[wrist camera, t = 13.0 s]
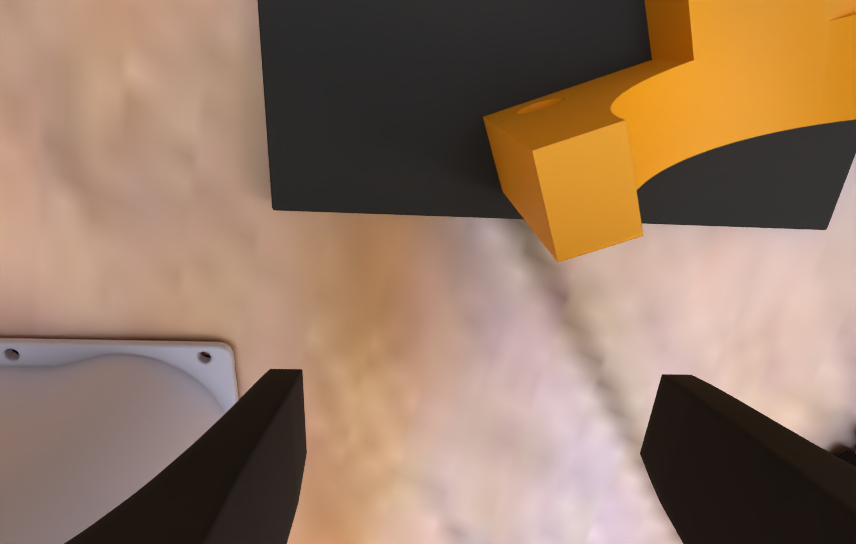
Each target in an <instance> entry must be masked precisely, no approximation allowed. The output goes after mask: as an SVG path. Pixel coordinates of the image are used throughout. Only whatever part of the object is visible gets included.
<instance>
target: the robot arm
mask: <svg viewBox="0 0 856 544" xmlns="http://www.w3.org/2000/svg"><path fill="white" fill-rule="evenodd" d="M12 349H14V350H16V351H17V352H18V353H19V354H16V353H15V352H14V351H13V350H12ZM201 352H207V353H208V354H210V356H211V357H210V358H207V357H204V356H203V355H202V354H201ZM306 454H307V450H306V431H305V412H304V393H303V374H302V369H270V370H269V371H268V372H266V373H265V374H264V375H263V376H262V377H261V378H260V379H259V380H258V381H257V382H256V383H255V384H254V385H253V386H252V387H251V388H250V389H249V390H248V391H247V392H246V393H245V394H244V395H243V396H242V397H241V398H240V399H239V397H238V388H237V379H236V370H235V362H234V353H233V350H232V348H231V347H230V346H229V345H227V344H226V343H223V342H203V341H146V340H89V339H31V338H0V544H287V541H288V537H289V534H290V530H291V527H292V523H293V520H294V516H295V512H296V509H297V505H298V501H299V495H300V490H301V484H302V478H303V472H304V466H305V460H306ZM640 455H641V457H642V460H643V462H644V465H645V467H646V470H647V472H648V475H649V478H650V480H651V482H652V485H653V487H654V489H655V492H656V494H657V496H658V498H659V501H660V503H661V504H662V506H663V508H664V510H665V512H666V514H667V515H668V517H669V519H670V521H671V522H672V524H673V526H674V528H675V529H676V531H677V533H678V535H679V537H680V538H681V540H682V542H683V544H856V467H855V466H853V465H851V464H850V463H848V462H846V461H844V460H842V459H840V458H838V457H837V456H835V455H833V454H831V453H829V452H828V451H826V450H824V449H822V448H820V447H819V446H817V445H815V444H813V443H812V442H810V441H808V440H806V439H805V438H803V437H801V436H799V435H798V434H796V433H794V432H792V431H791V430H789V429H787V428H785V427H784V426H782V425H780V424H779V423H777V422H775V421H773V420H772V419H770V418H768V417H767V416H765V415H763V414H761V413H760V412H758V411H756V410H755V409H753V408H751V407H749V406H748V405H746V404H744V403H743V402H741V401H739V400H737V399H736V398H734V397H732V396H730V395H729V394H727V393H725V392H723V391H722V390H720V389H718V388H716V387H714V386H713V385H711V384H709V383H707V382H705V381H703V380H701V379H699V378H697V377H695V376H692V375H664V374H662V377H661V380H660V384H659V387H658V391H657V395H656V398H655V402H654V405H653V409H652V412H651V416H650V420H649V423H648V427H647V430H646V434H645V437H644V441H643V445H642V448H641V452H640Z"/></svg>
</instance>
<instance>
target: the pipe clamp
mask: <svg viewBox="0 0 856 544" xmlns="http://www.w3.org/2000/svg"><path fill="white" fill-rule="evenodd" d="M645 8H646V16H647V24H648V31H649V39H650V47H651V55H652V60H650V61H647V62H644V63H641V64H638V65H635V66H632V67H629V68H626V69H623V70H620V71H617V72H614V73H612V74H609V75H606V76H603V77H600V78H597V79H594V80H591V81H588V82H585V83H582V84H579V85H576V86H573V87H570V88H567V89H564V90H561V91H558V92H555V93H552V94H549V95H546V96H543V97H540V98H537V99H534V100H531V101H528V102H525V103H522V104H519V105H516V106H514V107H511V108H508V109H505V110H502V111H499V112H496V113H493V114H490V115H487V116H484V117H483V119H484V123H485V127H486V131H487V135H488V138H489V142H490V146H491V150H492V154H493V157H494V161H495V165H496V169H497V172H498V176H499V180H500V184H501V188H502V191H503V193H504V194H505V195H506V197H507V198H508V199H509V201H510V202H511V203H512V204H513V206H514V207H515V208H516V209H517V211H518V212H519V213H520V215H521V216H522V217H523V218H524V220H525V221H526V222H527V223H528V225H529V226H530V227H531V229H532V230H533V231H534V232H535V234H536V235H537V236H538V237H539V239H540V240H541V241H542V243H543V244H544V245H545V246H546V248H547V249H548V250H549V251H550V253H551V254H552V255H553V257H554V258H555V259H556V260H557V262H561V261H564V260H567V259H571V258H574V257H577V256H580V255H584V254H587V253H590V252H593V251H596V250H600V249H603V248H606V247H609V246H612V245H616V244H619V243H622V242H625V241H628V240H632V239H635V238H638V237H641V236H643V230H642V224H641V217H640V210H639V204H638V197H637V189H638V188H639V187H641V186H642V185H643V184H644V183H645V182H646V181H648V180H649V179H650V178H652V177H653V176H655V175H656V174H658V173H659V172H661V171H663V170H665V169H666V168H668V167H670V166H672V165H674V164H676V163H678V162H681V161H683V160H685V159H687V158H690V157H692V156H695V155H697V154H700V153H703V152H706V151H708V150H711V149H714V148H717V147H721V146H724V145H727V144H730V143H734V142H737V141H741V140H745V139H749V138H753V137H757V136H761V135H765V134H770V133H774V132H779V131H784V130H789V129H794V128H800V127H806V126H812V125H818V124H825V123H832V122H839V121H847V120H856V0H645Z"/></svg>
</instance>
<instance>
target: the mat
mask: <svg viewBox="0 0 856 544" xmlns="http://www.w3.org/2000/svg"><path fill="white" fill-rule="evenodd" d="M258 12H259V26H260V41H261V55H262V69H263V83H264V98H265V112H266V126H267V140H268V155H269V169H270V183H271V198H272V208H273V210H283V211H311V212H339V213H367V214H395V215H423V216H451V217H479V218H507V219H524V218H523V217H522V216H521V215H520V213H519V212H518V211H517V209H516V208H515V207H514V206H513V204H512V203H511V202H510V201H509V199H508V198H507V197H506V195H505V194H504V193H503V191H502V188H501V184H500V180H499V176H498V172H497V169H496V165H495V161H494V157H493V154H492V150H491V146H490V142H489V138H488V135H487V131H486V127H485V123H484V119H483V117H484V116H487V115H490V114H493V113H496V112H499V111H502V110H505V109H508V108H511V107H514V106H516V105H519V104H522V103H525V102H528V101H531V100H534V99H537V98H540V97H543V96H546V95H549V94H552V93H555V92H558V91H561V90H564V89H567V88H570V87H573V86H576V85H579V84H582V83H585V82H588V81H591V80H594V79H597V78H600V77H603V76H606V75H609V74H612V73H614V72H617V71H620V70H623V69H626V68H629V67H632V66H635V65H638V64H641V63H644V62H647V61H650V60H652V55H651V47H650V39H649V31H648V24H647V16H646V8H645V0H258ZM855 154H856V120H847V121H839V122H832V123H825V124H818V125H812V126H806V127H800V128H794V129H789V130H784V131H779V132H774V133H770V134H765V135H761V136H757V137H753V138H749V139H745V140H741V141H737V142H734V143H730V144H727V145H724V146H721V147H717V148H714V149H711V150H708V151H706V152H703V153H700V154H697V155H695V156H692V157H690V158H687V159H685V160H683V161H681V162H678V163H676V164H674V165H672V166H670V167H668V168H666V169H665V170H663V171H661V172H659V173H658V174H656V175H655V176H653V177H652V178H650V179H649V180H648V181H646V182H645V183H644V184H643V185H642V186H641V187H639V188H638V189H637V197H638V204H639V210H640V217H641V223H646V224H674V225H702V226H730V227H758V228H786V229H814V230H825V229H827V227H828V225H829V222H830V219H831V217H832V214H833V211H834V209H835V206H836V204H837V201H838V198H839V196H840V193H841V190H842V188H843V185H844V183H845V180H846V177H847V175H848V172H849V169H850V167H851V164H852V162H853V159H854V156H855Z"/></svg>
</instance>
